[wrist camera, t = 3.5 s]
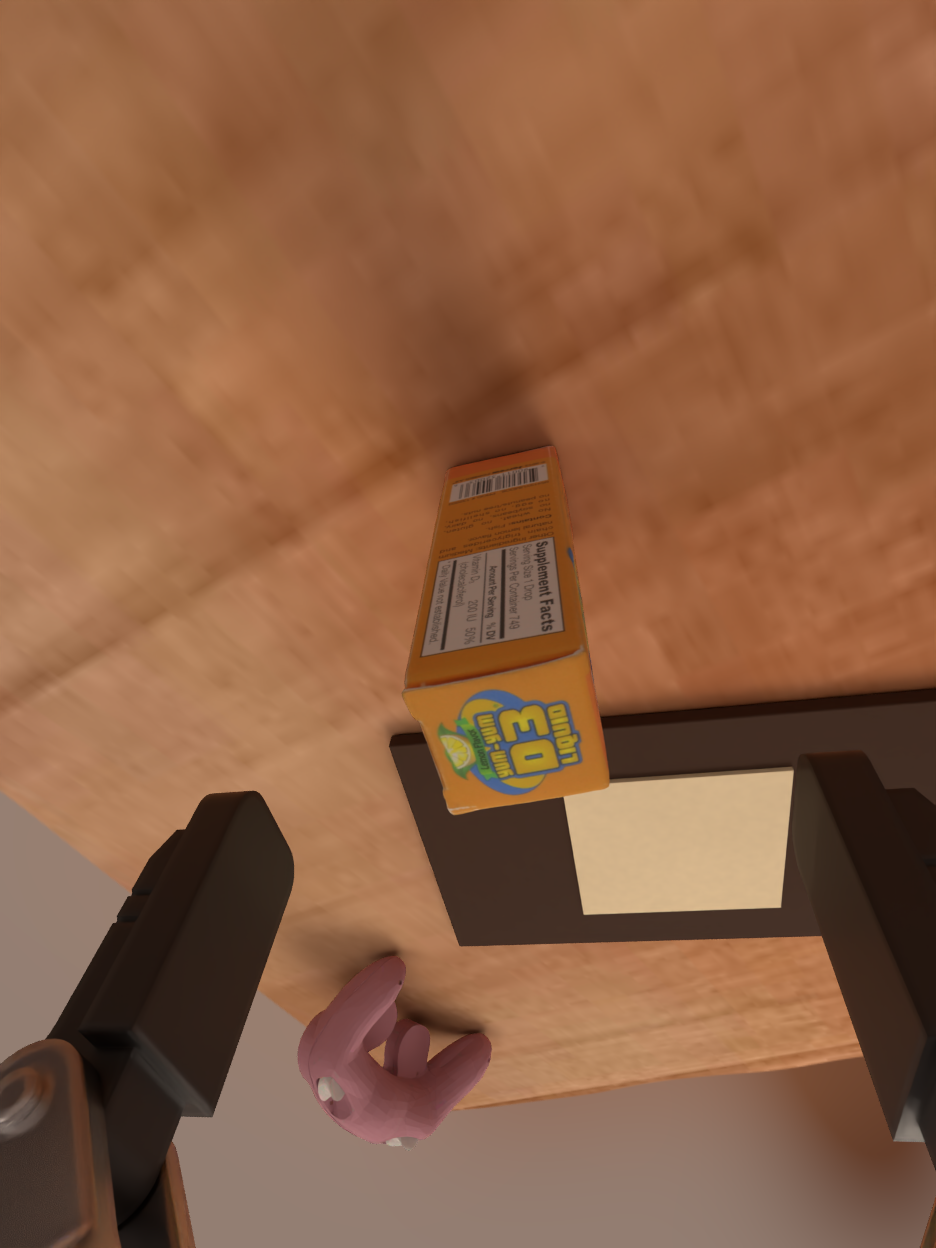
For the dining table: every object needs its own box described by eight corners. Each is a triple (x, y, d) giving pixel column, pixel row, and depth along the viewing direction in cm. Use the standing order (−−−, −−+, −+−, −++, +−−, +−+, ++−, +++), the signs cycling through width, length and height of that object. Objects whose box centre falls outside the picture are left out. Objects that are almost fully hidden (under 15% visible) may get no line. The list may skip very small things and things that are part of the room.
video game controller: (345, 932, 36) (261, 1073, 32) (403, 953, 33) (318, 1112, 29) (445, 1021, 40) (382, 1154, 36) (504, 1046, 37) (443, 1195, 33)
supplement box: (585, 542, 20) (617, 807, 12) (472, 563, 21) (430, 827, 13) (565, 434, 19) (587, 659, 10) (443, 461, 19) (372, 692, 11)
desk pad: (460, 935, 33) (458, 951, 32) (391, 735, 25) (387, 750, 25) (922, 920, 29) (931, 938, 28) (990, 683, 22) (1005, 699, 21)
